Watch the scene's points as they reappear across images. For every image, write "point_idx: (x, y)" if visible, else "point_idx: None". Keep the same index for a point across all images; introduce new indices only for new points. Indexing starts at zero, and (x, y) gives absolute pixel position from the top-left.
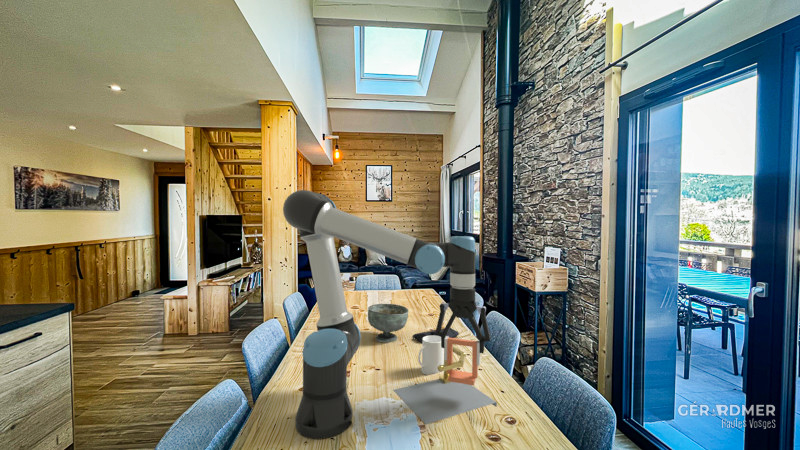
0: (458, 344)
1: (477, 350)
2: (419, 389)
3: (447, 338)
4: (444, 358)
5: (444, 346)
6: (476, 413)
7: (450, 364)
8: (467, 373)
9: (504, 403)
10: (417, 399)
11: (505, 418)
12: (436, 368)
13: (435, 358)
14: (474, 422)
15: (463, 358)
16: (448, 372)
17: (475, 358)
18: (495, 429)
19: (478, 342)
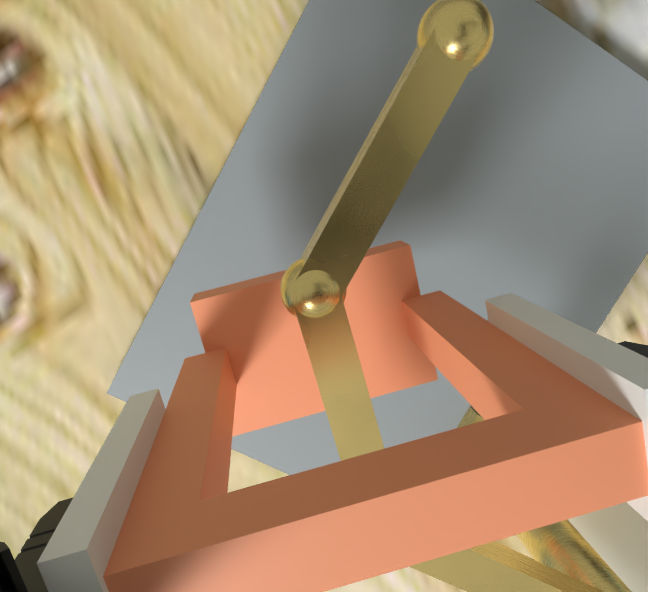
0: (420, 440)
1: (111, 476)
2: (580, 242)
3: (646, 436)
4: (517, 296)
5: (600, 336)
6: (181, 239)
7: (384, 151)
8: (292, 395)
9: (87, 441)
10: (540, 124)
11: (17, 291)
12: (590, 514)
13: (642, 555)
14: (151, 141)
15: (325, 402)
16: (431, 295)
17: (175, 433)
18: (18, 146)
19: (71, 585)
